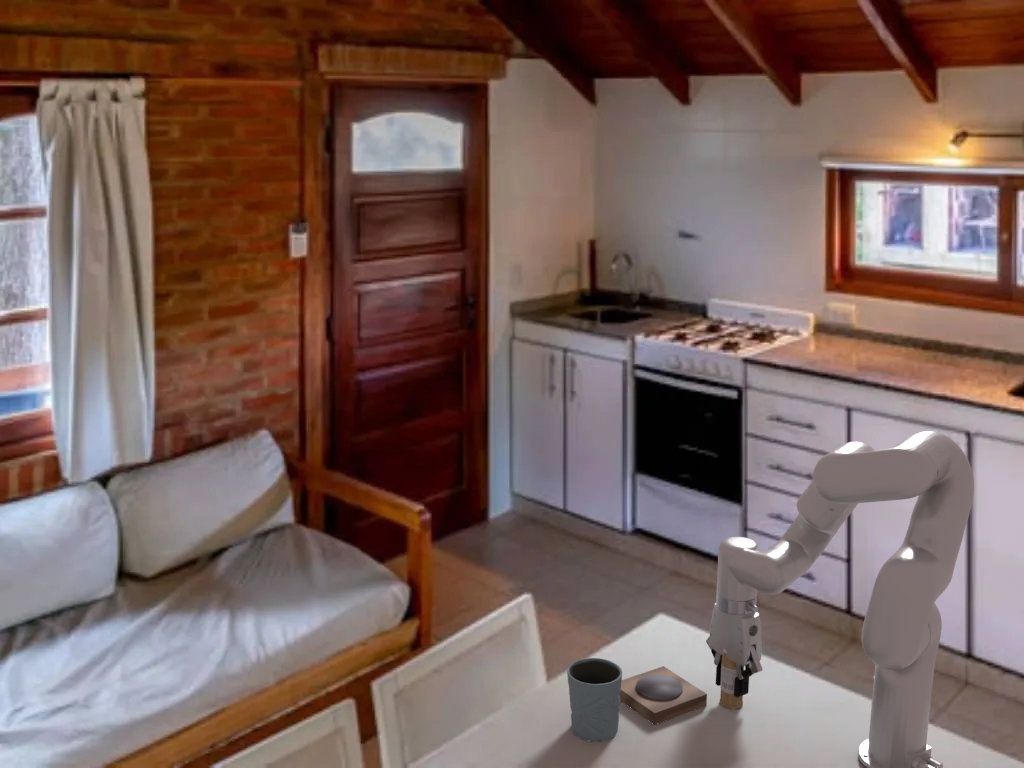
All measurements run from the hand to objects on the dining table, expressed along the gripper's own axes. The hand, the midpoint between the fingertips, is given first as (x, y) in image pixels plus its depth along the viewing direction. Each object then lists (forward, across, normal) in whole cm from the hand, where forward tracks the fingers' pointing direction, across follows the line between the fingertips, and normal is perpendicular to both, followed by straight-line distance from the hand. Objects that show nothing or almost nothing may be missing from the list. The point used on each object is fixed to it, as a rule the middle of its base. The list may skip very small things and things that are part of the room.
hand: (731, 688), depth 210 cm
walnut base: (+3, +8, +11) cm, 14 cm away
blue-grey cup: (+4, +7, +28) cm, 29 cm away
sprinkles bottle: (+4, 0, 0) cm, 4 cm away
